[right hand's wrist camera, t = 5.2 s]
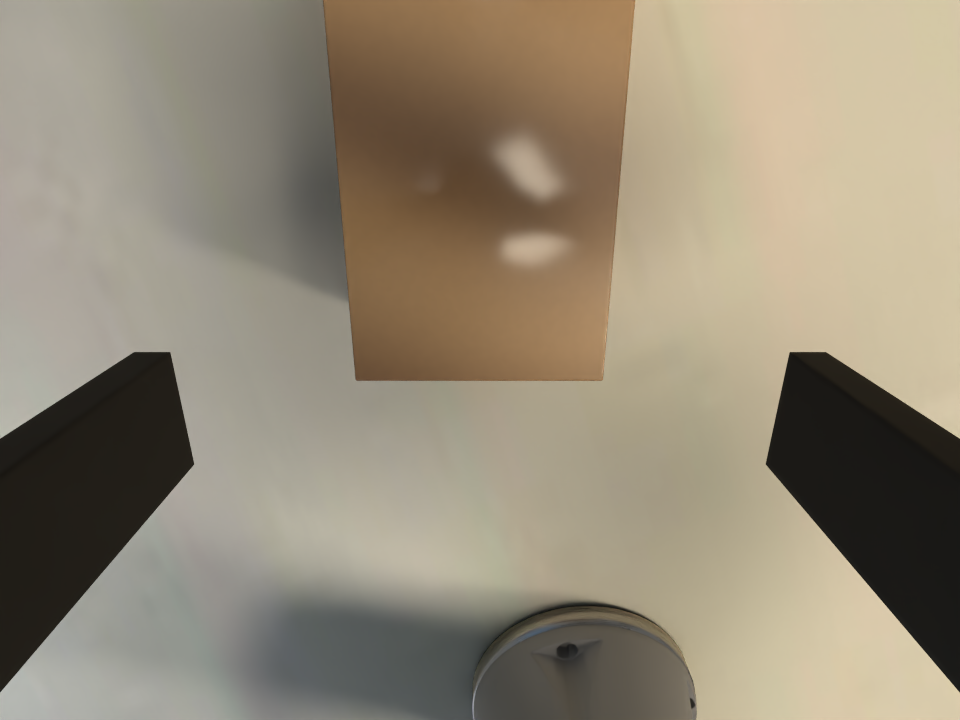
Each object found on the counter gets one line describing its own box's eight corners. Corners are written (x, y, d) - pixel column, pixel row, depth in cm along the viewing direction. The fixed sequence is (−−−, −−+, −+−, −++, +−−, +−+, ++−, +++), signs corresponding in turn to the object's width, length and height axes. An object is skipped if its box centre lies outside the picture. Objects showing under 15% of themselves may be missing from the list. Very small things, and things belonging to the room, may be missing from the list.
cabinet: (361, -92, 25) (305, -198, 17) (597, -92, 25) (652, -198, 17) (386, 318, 31) (355, 381, 23) (572, 318, 31) (603, 381, 23)
